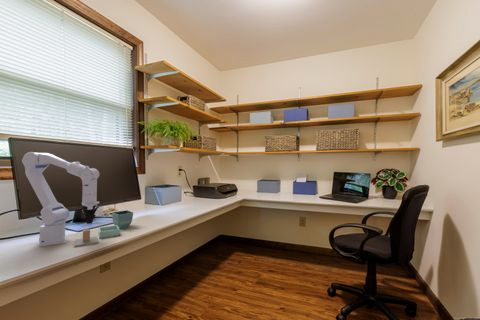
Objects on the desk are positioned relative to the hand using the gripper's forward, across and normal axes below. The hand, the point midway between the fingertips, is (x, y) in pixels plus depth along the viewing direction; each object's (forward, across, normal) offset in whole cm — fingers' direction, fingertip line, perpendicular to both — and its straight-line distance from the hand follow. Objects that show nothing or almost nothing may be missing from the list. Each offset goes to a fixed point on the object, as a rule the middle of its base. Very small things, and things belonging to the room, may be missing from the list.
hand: (89, 221), depth 109 cm
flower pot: (+10, +17, -17) cm, 26 cm away
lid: (+10, -1, +1) cm, 10 cm away
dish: (+10, +6, -9) cm, 15 cm away
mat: (+10, -1, +1) cm, 10 cm away
